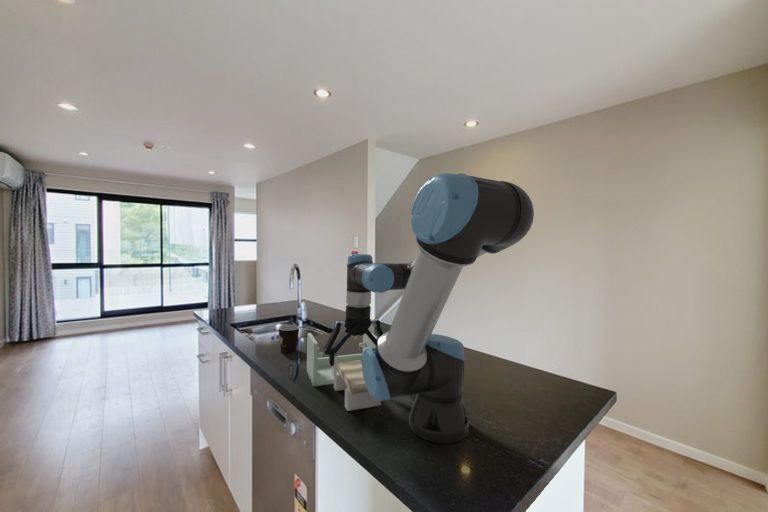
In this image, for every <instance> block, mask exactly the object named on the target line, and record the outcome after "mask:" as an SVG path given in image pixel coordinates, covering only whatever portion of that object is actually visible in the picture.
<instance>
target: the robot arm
mask: <svg viewBox="0 0 768 512" xmlns="http://www.w3.org/2000/svg"><path fill="white" fill-rule="evenodd" d="M534 209H535V208H534V204H533V202H532V200H531V198H530V196H529V195H528V193H527V192H526V191H525V190H524V189H523V188H521V187H520V186H519V185H517V184H514V183H512V182H510V181H505V180H497V179H490V178H486V177H485V178H484V177H479V176H473V175H468V174H466V173H445V172H443V173H438V174H436V175H435V176H433V177H431V178H428V180H426V181H425V182H424V184H423V185H421V187H420V189H419V190H418V192H417V193H416V195H415V198H414V200H413V204H412V207H411V215H412V218H411V219H410V223H411V229H412V232H413V233H414V235H415V243H416V244H417V246H418V248H419V251H418V254H417V256H416V258H415V259H413V260H412V261H410V262H406V263H405V262H404V263H403V262H402V263H392V262H389V263H388V262H387V263H386V262H383V263H381V262H380V263H378V262H374V261H373V257H372V255H371V254H368V253H367V254H365V253H364V254H363V253H351V254H349V255H348V257H347V264H346V297H345V298H346V300H345V302H346V306H345V319H344V321H339V320H335V322H334V326H333V329H332V332H331V334H330V335H329V337H328V339H327V341H326V343H325V345H324V347H323V350H322V352H323V354H325V355H328V357H329V364H330V366H332V375H333V377H334V378H337V356H338V355H337V352H338V351H339V350H340V349H341V348H342V346H343V345H344V344H345V343H346V341H348V339H349V338H350V337H352V336H353V337H356V336H363V335H364V334H366V335H367V336H368V337H369V338H370V340H371V341H372V342H373V343H374V344H375V346H376V348H369V349H366V350H365V351H364V352H363V351H362V353H363V355H362V372H363V377H364V381H365V385H366V388H367V390H368V392H369V394H370V395H371V397H372V398H374V399H375V400H377V401H381V402H383V401H391V400H394V399H400V398H402V397H408V396H412V395H415V398H414V401H413V403H412V407H411V410H410V411H409V417H408V421H409V422H408V425H409V428H410V430H411V431H412V432H413V433H414V434H415V435H416V436H417V437H419V438H421V439H424V440H426V441H428V442H431V443H436V444H437V443H438V444H453V443H458V442H460V441H462V440H464V439H465V438H467V436H468V435H469V430H470V428H469V427H470V423H469V422H470V421H469V417H468V413H467V410H466V407H465V406H466V405H465V403H464V398H463V396H464V395H463V394H464V375H465V361H466V358H465V347H464V344H463V343H462V342H461V341H460V340H458V339H457V338H453V337H450V336H446V335H443V334H436V333H433V332H434V330H435V327H436V325H437V323H438V321H439V318H440V317H441V314H442V312H443V311H444V308H445V305H446V304H447V302H448V299H449V297H450V295H451V293H452V291H453V288H454V286H455V284H456V282H457V280H458V278H459V276H460V274H461V271H462V270H463V268H464V267H467V266H471V265H473V264H474V263H475V262H476V260H477V259H478V258H479V257H481V256H483V255H485V254H487V253H488V254H492V255H493V254H497V253H500V252H502V251H504V250H506V249H508V248H509V247H511V246H513V245H515V244H517V243H519V242H520V241H521V240H522V239H524V238H525V236H526V235H528V233H529V231H530V229H531V228H532V225H533V222H534V215H535V212H534ZM398 290H400V291H401V290H404V291H403V294H402V296H401V299H400V302H399V304H398V306H397V309H396V312H395V315H394V317H393V321H392V322H391V325H390V328H389V330H388V331H386V332H385V333H383V330H382V327H381V321H380V320H379V319H378V318H377V317H376V318H374V319H371V310H372V308H371V303H372V293H377V294H381V293H382V294H383V293H386V292H387V291H398ZM371 325H372V326H373V327H374V330H375V331H376V333H377V337H378V338H379V341H377V340H376V338H375V337H374V336H373V335H372V333H373V332H371V331H370V330H369V329H370V327H371ZM343 327H345V330H343V332H342V334H341V335H340V337H339V338H338V335H339V333H340V331H341V330H342V329H343ZM337 338H338V339H337Z"/></svg>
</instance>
